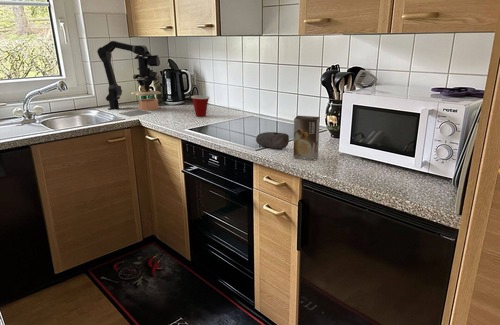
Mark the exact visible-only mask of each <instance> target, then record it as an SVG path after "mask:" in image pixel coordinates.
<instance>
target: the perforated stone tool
mask: <svg viewBox="0 0 500 325" xmlns="http://www.w3.org/2000/svg"><path fill="white" fill-rule="evenodd" d="M289 137H290V135H288V133H286V132H285V133H283V132H277V131H272V132H271V131H270V132H269V131H268V132H267V131H266V132H262V133H259V134H257V135H256V138H255V141H256V143H257V145H258V146H261V147H266V146H267V147H266V148H268V149H273V148H274V149H279V150H283V149H285V148H286V147H287V146H288V145H289V143H290V142H289V141H290V138H289Z"/></svg>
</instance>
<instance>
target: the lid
mask: <svg viewBox="0 0 500 325" xmlns="http://www.w3.org/2000/svg"><path fill="white" fill-rule="evenodd" d="M150 88H151V86H149V90H148V92H147V91H146V89H145V86H144V85H143V86H140V90H135V91H130V95H133V96H140V97H144V96H154V95H161V94H162V92H161V91H158V90H154V89H153V90H152V89H150Z"/></svg>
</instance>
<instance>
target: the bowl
mask: <svg viewBox="0 0 500 325" xmlns="http://www.w3.org/2000/svg"><path fill="white" fill-rule="evenodd" d="M138 104H139V106H138V107H139V110H142V111H156V110H158V109H159V108H160V107H159V99H158V98H144V99H139V100H138Z"/></svg>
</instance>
